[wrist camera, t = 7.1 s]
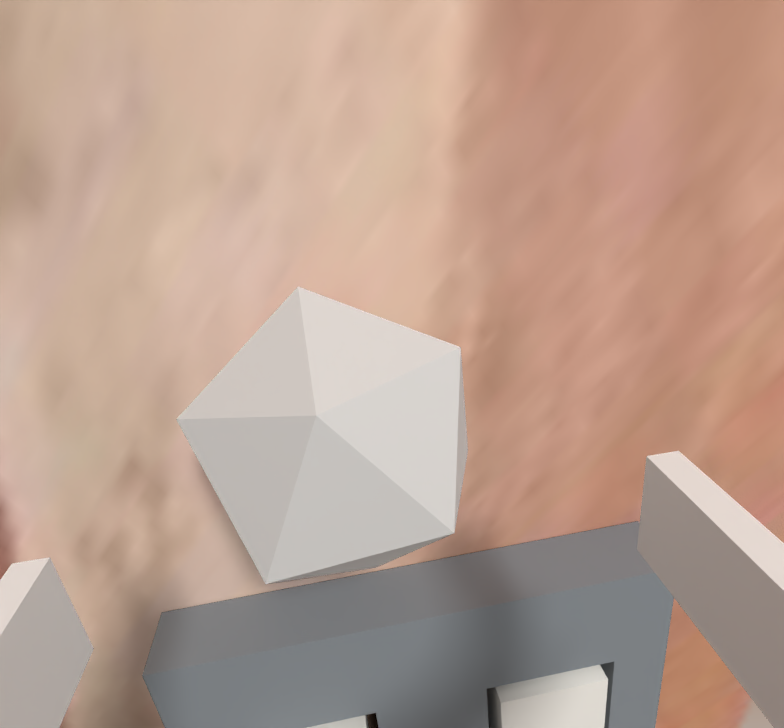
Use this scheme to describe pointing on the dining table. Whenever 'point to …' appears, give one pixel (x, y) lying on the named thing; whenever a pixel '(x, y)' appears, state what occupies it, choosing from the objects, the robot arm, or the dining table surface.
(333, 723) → the button
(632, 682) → the breaker panel
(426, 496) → the die
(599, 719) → the tagged button
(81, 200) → the dining table surface
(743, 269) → the dining table surface
